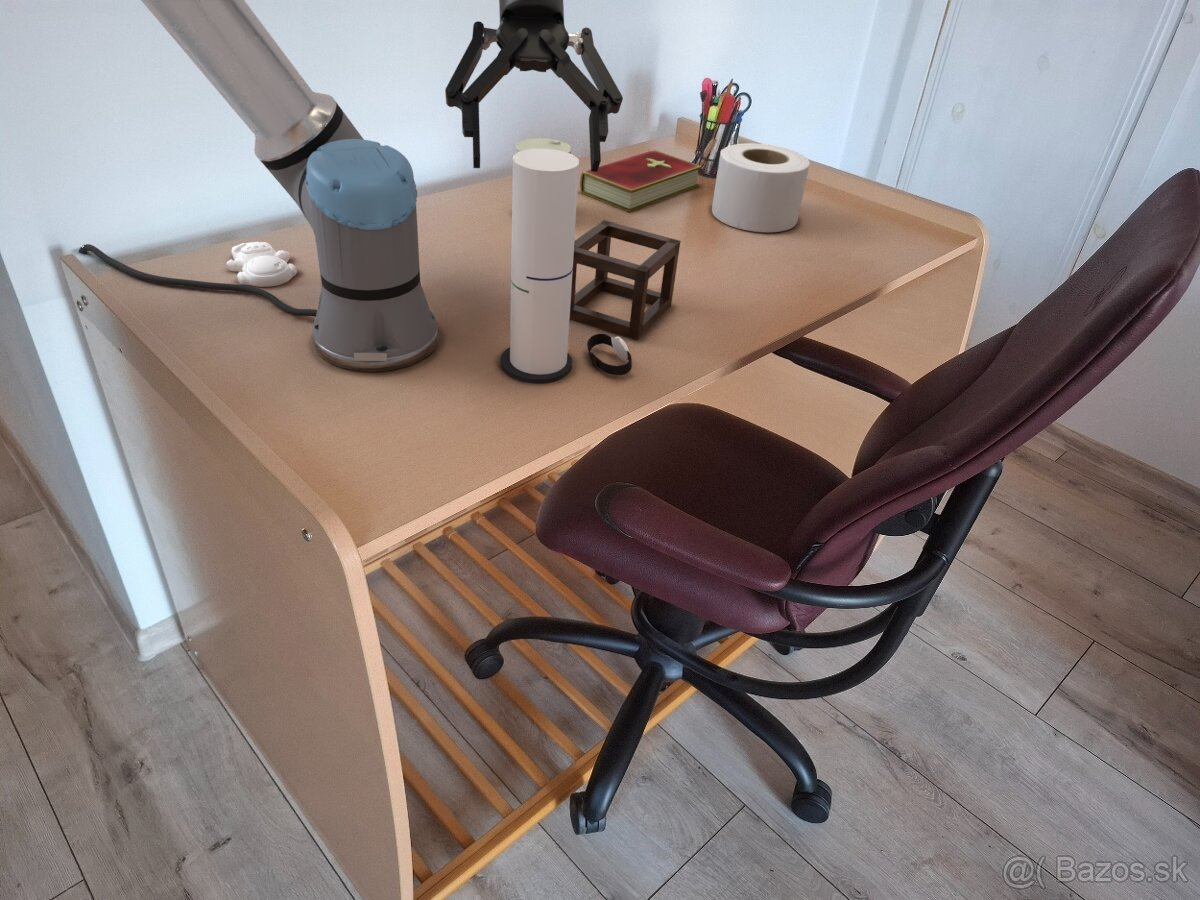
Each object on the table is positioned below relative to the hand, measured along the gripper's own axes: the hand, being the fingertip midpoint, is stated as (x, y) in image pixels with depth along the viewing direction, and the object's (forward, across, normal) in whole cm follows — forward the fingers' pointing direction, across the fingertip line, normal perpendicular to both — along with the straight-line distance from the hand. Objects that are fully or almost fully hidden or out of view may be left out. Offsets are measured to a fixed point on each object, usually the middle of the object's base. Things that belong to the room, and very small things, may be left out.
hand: (536, 164), depth 95 cm
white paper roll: (-15, -43, -48) cm, 66 cm away
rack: (+10, -13, -22) cm, 28 cm away
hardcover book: (-23, -24, -56) cm, 65 cm away
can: (-14, -5, -47) cm, 49 cm away
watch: (+20, -9, -12) cm, 26 cm away
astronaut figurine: (+2, +37, -31) cm, 48 cm away
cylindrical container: (+20, 0, -12) cm, 23 cm away
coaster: (+20, 0, -12) cm, 24 cm away
